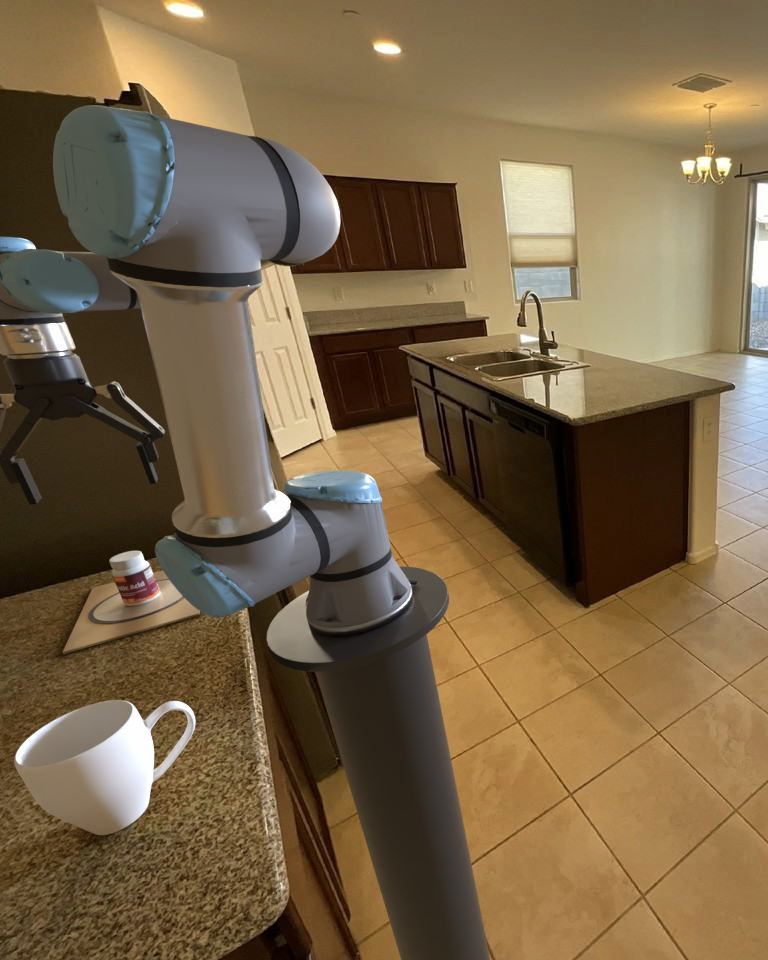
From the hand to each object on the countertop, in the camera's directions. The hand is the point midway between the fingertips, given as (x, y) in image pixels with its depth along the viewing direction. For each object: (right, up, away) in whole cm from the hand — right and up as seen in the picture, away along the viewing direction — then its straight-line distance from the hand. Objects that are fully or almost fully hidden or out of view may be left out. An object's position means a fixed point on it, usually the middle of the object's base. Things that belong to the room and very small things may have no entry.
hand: (97, 491), depth 82 cm
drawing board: (0, -19, +7) cm, 21 cm away
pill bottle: (0, -19, +7) cm, 20 cm away
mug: (+34, -33, -27) cm, 54 cm away
